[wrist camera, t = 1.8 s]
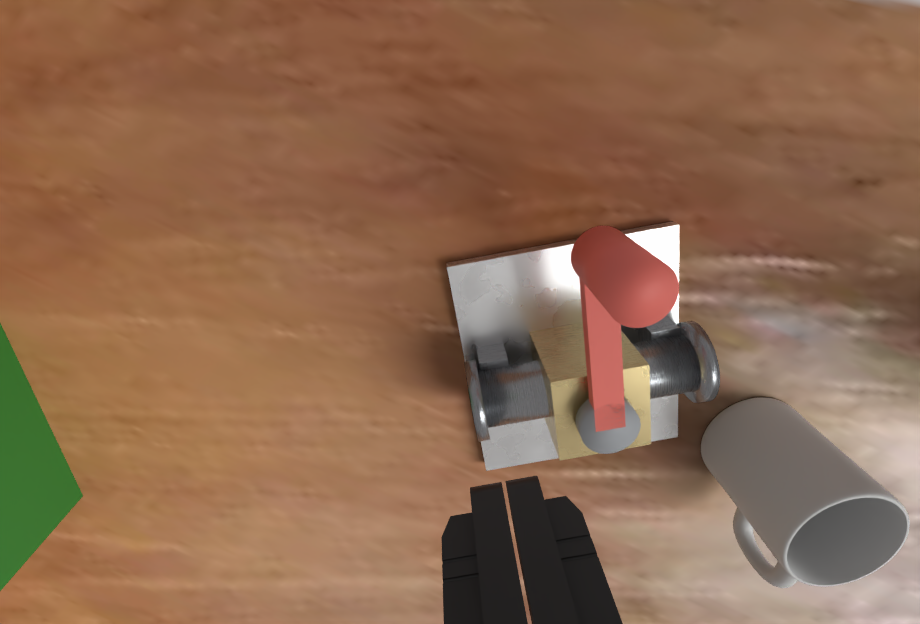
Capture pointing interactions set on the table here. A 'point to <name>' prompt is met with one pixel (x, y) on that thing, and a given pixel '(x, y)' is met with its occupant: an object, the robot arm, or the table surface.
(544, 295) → the valve body
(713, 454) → the mug
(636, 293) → the lever
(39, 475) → the hardback book
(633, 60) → the table surface
